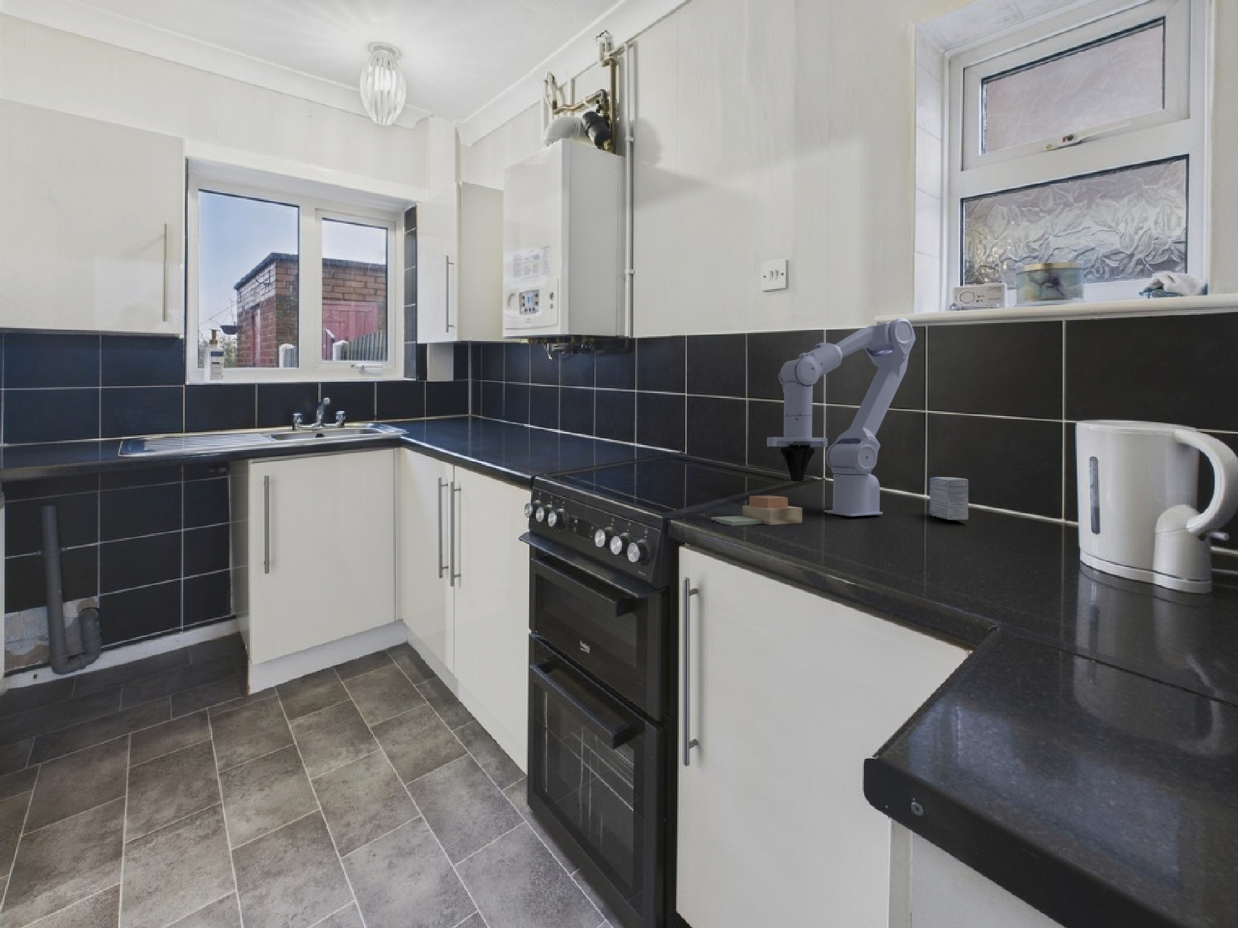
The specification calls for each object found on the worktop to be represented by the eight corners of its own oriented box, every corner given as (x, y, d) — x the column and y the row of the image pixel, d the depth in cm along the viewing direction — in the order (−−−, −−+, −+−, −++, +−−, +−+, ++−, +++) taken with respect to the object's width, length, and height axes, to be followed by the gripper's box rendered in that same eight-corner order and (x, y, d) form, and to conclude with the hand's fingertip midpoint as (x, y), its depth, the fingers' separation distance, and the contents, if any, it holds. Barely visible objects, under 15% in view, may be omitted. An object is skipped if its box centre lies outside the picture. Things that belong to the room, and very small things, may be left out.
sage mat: (739, 519, 127) (739, 515, 127) (761, 523, 120) (761, 519, 120) (710, 521, 124) (710, 517, 124) (732, 525, 117) (732, 521, 117)
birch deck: (773, 517, 130) (773, 503, 130) (802, 522, 122) (802, 507, 122) (742, 519, 127) (742, 505, 127) (770, 524, 119) (770, 509, 119)
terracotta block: (768, 504, 128) (768, 495, 128) (787, 507, 123) (787, 497, 123) (749, 505, 126) (749, 496, 126) (767, 508, 121) (767, 498, 121)
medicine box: (968, 520, 127) (969, 479, 127) (947, 520, 127) (947, 479, 127) (949, 515, 135) (949, 476, 135) (928, 515, 135) (929, 476, 135)
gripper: (811, 418, 134) (810, 479, 134) (757, 416, 128) (757, 480, 128) (835, 416, 127) (834, 481, 128) (779, 415, 121) (778, 482, 122)
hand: (797, 481), depth 128 cm, fingers closed
